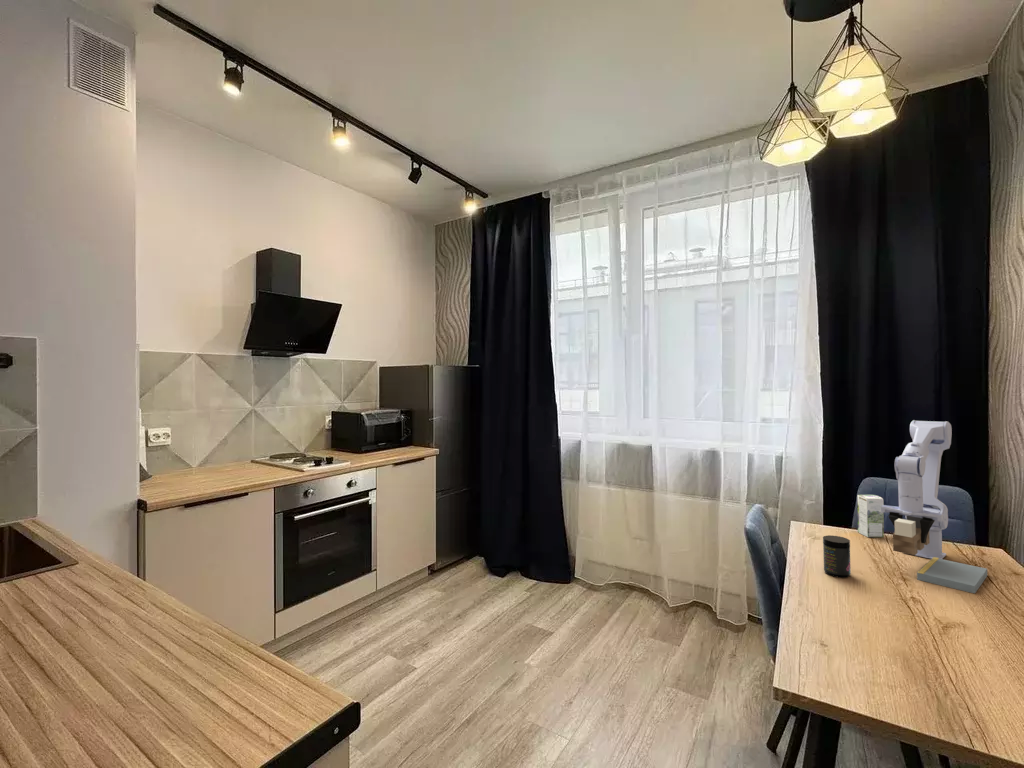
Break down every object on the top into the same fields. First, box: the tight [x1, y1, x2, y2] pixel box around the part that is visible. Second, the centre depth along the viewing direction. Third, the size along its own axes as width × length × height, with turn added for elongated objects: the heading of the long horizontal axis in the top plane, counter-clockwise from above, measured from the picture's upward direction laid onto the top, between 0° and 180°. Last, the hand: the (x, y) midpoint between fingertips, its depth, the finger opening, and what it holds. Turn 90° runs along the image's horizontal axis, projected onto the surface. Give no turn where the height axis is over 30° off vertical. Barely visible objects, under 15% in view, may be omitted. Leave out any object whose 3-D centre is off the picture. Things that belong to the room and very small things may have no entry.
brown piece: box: [892, 528, 930, 556], centre depth 144 cm, size 5×16×5 cm, turn 127°
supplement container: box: [822, 535, 852, 579], centre depth 142 cm, size 7×7×10 cm
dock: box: [916, 557, 988, 594], centre depth 137 cm, size 12×18×2 cm, turn 127°
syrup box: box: [857, 494, 885, 538], centre depth 175 cm, size 6×6×14 cm
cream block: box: [894, 518, 916, 538], centre depth 141 cm, size 4×4×4 cm
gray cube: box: [907, 516, 923, 529], centre depth 148 cm, size 4×4×4 cm
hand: (911, 540), depth 145 cm, fingers closed on brown piece, 5 cm apart
